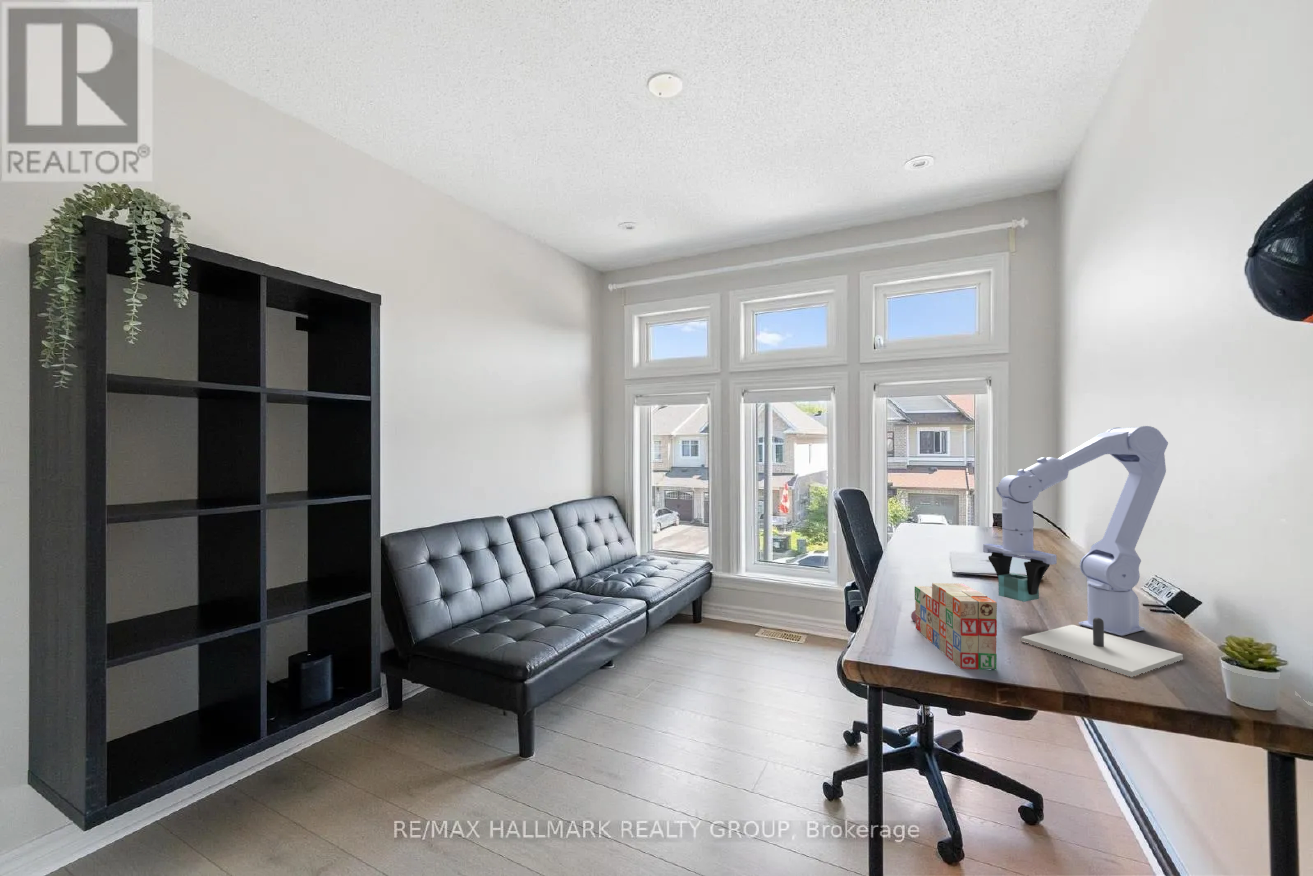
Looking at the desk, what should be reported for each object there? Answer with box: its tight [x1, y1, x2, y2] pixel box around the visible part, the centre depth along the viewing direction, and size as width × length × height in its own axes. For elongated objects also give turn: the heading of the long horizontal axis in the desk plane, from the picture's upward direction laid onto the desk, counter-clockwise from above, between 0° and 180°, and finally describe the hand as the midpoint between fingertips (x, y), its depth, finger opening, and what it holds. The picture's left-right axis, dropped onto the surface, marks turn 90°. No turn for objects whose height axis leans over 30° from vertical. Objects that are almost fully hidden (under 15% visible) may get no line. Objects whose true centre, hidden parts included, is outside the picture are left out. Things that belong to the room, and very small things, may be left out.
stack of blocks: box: [914, 582, 998, 670], centre depth 104 cm, size 21×6×12 cm, turn 174°
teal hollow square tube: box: [997, 572, 1040, 603], centre depth 118 cm, size 5×5×4 cm
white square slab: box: [1020, 618, 1184, 678], centre depth 102 cm, size 18×18×6 cm
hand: (1018, 590), depth 118 cm, fingers closed on teal hollow square tube, 5 cm apart
